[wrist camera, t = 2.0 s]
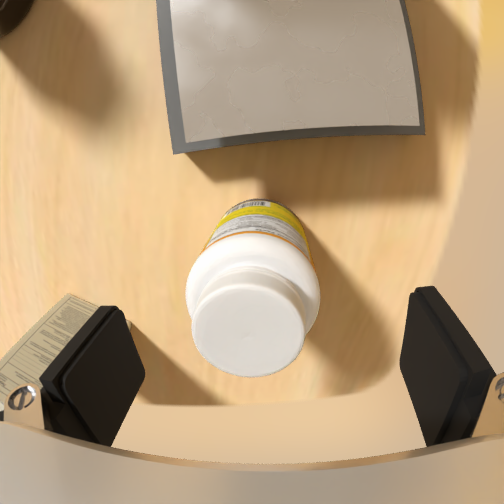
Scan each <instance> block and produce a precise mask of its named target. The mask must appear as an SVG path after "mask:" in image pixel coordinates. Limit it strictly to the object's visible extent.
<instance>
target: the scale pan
mask: <svg viewBox="0 0 504 504" xmlns="http://www.w3.org/2000/svg"><path fill="white" fill-rule="evenodd" d="M170 9H171V20H172V31H173V41H174V51H175V60H176V69H177V78H178V86H179V95H180V103H181V111H182V118H183V126H184V133H185V140H186V143H189V142H196V141H202V140H208V139H215V138H222V137H229V136H237V135H245V134H253V133H262V132H271V131H282V130H293V129H306V128H322V127H342V126H384V125H395V126H420V124H419V113H418V103H417V94H416V86H415V78H414V71H413V65H412V59H411V53H410V47H409V42H408V37H407V32H406V27H405V22H404V18H403V13H402V9H401V5H400V1H399V0H170Z"/></svg>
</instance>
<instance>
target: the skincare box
mask: <svg viewBox="0 0 504 504" xmlns="http://www.w3.org/2000/svg"><path fill="white" fill-rule="evenodd" d="M98 308H99V307H97V306H95V305H93V304H91V303H89V302H86V301H84V300H82V299H80V298H77V297H75V296H73V295H71V294H66V295H65V296H64V297H63V298H62V299H61V300H60V301H59V302H58V303H56V304H55V305H54V306H53V307H52V308H51V309H50V310H49V311H48V312H47V313H46V314H45V315H44V316H43V317H42V318H41V319H40V320H39V321H38V322H37V323H36V324H35V325H34V326H33V327H32V328H31V329H30V330H29V331H28V332H27V333H26V334H25V335H24V336H23V337H22V338H21V339H20V340H19V341H18V342H17V343H16V344H15V345H14V346H13V347H12V348H11V349H10V350H9V351H8V352H7V353H6V354H5V355H4V356H3V358H2V359H1V360H0V411H3V410H4V402H5V399H6V397H7V395H8V394H9V393H10V392H11V390H13V389H14V388H15V387H17V386H19V385H21V384H25V383H33V384H36V385H37V386H38V387H39V388H40V390H41V389H42V387H43V385H42V384H41V382H40V380H39V377H40V376H41V375H42V374H43V372H44V371H45V370H46V369H47V367H48V366H49V365H50V364H51V363H52V361H53V360H54V359H55V358H56V356H57V355H58V354H59V353H60V352H61V350H62V349H63V348H64V347H65V346H66V345H67V343H68V342H69V341H70V340H71V339H72V338H73V336H74V335H75V334H76V333H77V332H78V331H79V329H80V328H81V327H82V326H83V325H84V324H85V323H86V321H87V320H88V319H89V318H90V317H91V316H92V315H93V314H94V312H95V311H96V310H97V309H98ZM126 322H127V325H128V328H129V330H130V328H131V322H130V321H128V320H126Z"/></svg>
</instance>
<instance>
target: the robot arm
mask: <svg viewBox="0 0 504 504" xmlns="http://www.w3.org/2000/svg"><path fill="white" fill-rule="evenodd" d="M400 370H401V372H402V375H403V378H404V381H405V383H406V386H407V389H408V392H409V395H410V397H411V400H412V403H413V406H414V409H415V412H416V415H417V418H418V421H419V424H420V427H421V430H422V433H423V436H424V440H425V443H426V446H427V447H425V448H420V449H415V450H410V451H404V452H399V453H393V454H387V455H380V456H374V457H367V458H359V459H350V460H341V461H330V462H316V463H297V464H240V463H220V462H207V461H195V460H187V459H178V458H170V457H163V456H156V455H150V454H144V453H138V452H133V451H127V450H122V449H117V448H113V447H111V445H112V443H113V441H114V439H115V437H116V435H117V433H118V431H119V429H120V427H121V425H122V423H123V421H124V419H125V416H126V414H127V412H128V410H129V408H130V406H131V404H132V402H133V400H134V398H135V396H136V394H137V392H138V390H139V388H140V386H141V384H142V383H143V381H144V378H145V370H144V367H143V364H142V362H141V359H140V357H139V354H138V352H137V349H136V346H135V344H134V341H133V339H132V336H131V333H130V330H129V328H128V325H127V322H126V319H125V316H124V313H123V312H122V311H121V310H119V308H118V307H117V306H100V307H99V308H98V309H97V310H96V311H95V312H94V314H93V315H92V316H91V317H90V318H89V319H88V320H87V321H86V323H85V324H84V325H83V326H82V327H81V328H80V329H79V331H78V332H77V333H76V334H75V335H74V336H73V338H72V339H71V340H70V341H69V342H68V343H67V345H66V346H65V347H64V348H63V349H62V350H61V352H60V353H59V354H58V355H57V356H56V358H55V359H54V360H53V361H52V363H51V364H50V365H49V366H48V367H47V369H46V370H45V371H44V372H43V374H42V375H41V376H40V377H39V380H40V382H41V384H42V385H43V387H42V389H41V390H40V388H39V387H38V386H37V385H36V384H33V383H25V384H21V385H19V386H17V387H15V388H14V389H13V390H11V392H10V393H9V394H8V395H7V397H6V399H5V402H4V410H3V411H0V504H504V372H503V373H501V374H498V375H496V373H495V372H494V370H493V369H492V367H491V365H490V364H489V362H488V361H487V359H486V358H485V356H484V354H483V353H482V351H481V350H480V348H479V347H478V346H477V344H476V343H475V341H474V340H473V338H472V337H471V335H470V334H469V332H468V331H467V330H466V328H465V327H464V325H463V324H462V323H461V322H460V320H459V319H458V318H457V316H456V314H455V313H454V312H453V310H452V309H451V308H450V306H449V305H448V304H447V302H446V301H445V300H444V298H443V297H442V296H441V294H440V293H439V292H438V291H437V289H436V288H435V287H434V286H426V287H418V288H416V289H415V292H414V293H411V294H410V296H409V304H408V311H407V319H406V325H405V332H404V338H403V344H402V350H401V355H400Z"/></svg>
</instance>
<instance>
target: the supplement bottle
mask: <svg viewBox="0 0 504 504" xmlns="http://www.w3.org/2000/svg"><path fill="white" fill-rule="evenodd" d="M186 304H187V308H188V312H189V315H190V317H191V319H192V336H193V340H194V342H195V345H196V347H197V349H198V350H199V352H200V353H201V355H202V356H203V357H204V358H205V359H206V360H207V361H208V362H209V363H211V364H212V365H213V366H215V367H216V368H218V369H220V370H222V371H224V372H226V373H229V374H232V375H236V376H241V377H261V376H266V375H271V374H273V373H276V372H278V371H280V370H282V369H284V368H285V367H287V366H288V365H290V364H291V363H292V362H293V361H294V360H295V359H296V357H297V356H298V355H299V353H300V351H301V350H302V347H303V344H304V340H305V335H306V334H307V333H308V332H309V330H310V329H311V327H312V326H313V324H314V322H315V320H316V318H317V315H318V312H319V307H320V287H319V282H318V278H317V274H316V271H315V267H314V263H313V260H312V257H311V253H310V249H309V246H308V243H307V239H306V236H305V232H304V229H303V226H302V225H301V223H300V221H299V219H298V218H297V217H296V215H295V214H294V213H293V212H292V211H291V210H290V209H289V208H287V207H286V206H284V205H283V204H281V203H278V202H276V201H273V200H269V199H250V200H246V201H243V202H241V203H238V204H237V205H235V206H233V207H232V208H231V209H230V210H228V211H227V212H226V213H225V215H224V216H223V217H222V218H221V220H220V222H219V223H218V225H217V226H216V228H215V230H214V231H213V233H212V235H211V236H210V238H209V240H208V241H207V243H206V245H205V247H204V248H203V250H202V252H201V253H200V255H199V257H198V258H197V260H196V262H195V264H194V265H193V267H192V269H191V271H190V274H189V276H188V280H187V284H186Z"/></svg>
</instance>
